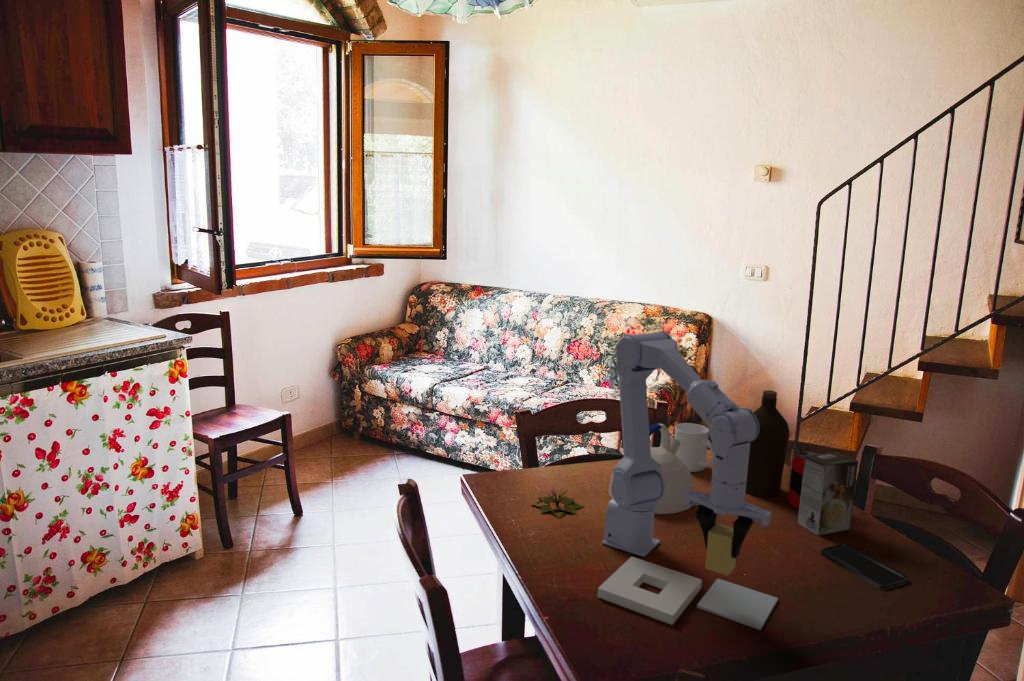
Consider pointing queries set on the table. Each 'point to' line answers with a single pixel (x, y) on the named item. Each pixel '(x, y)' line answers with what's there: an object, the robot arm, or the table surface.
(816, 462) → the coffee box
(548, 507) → the green leafy plant
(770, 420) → the olive oil
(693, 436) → the mug
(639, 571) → the pocket holder
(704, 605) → the mat
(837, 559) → the phone
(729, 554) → the block
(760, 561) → the table surface
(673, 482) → the kettle
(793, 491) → the soda can
